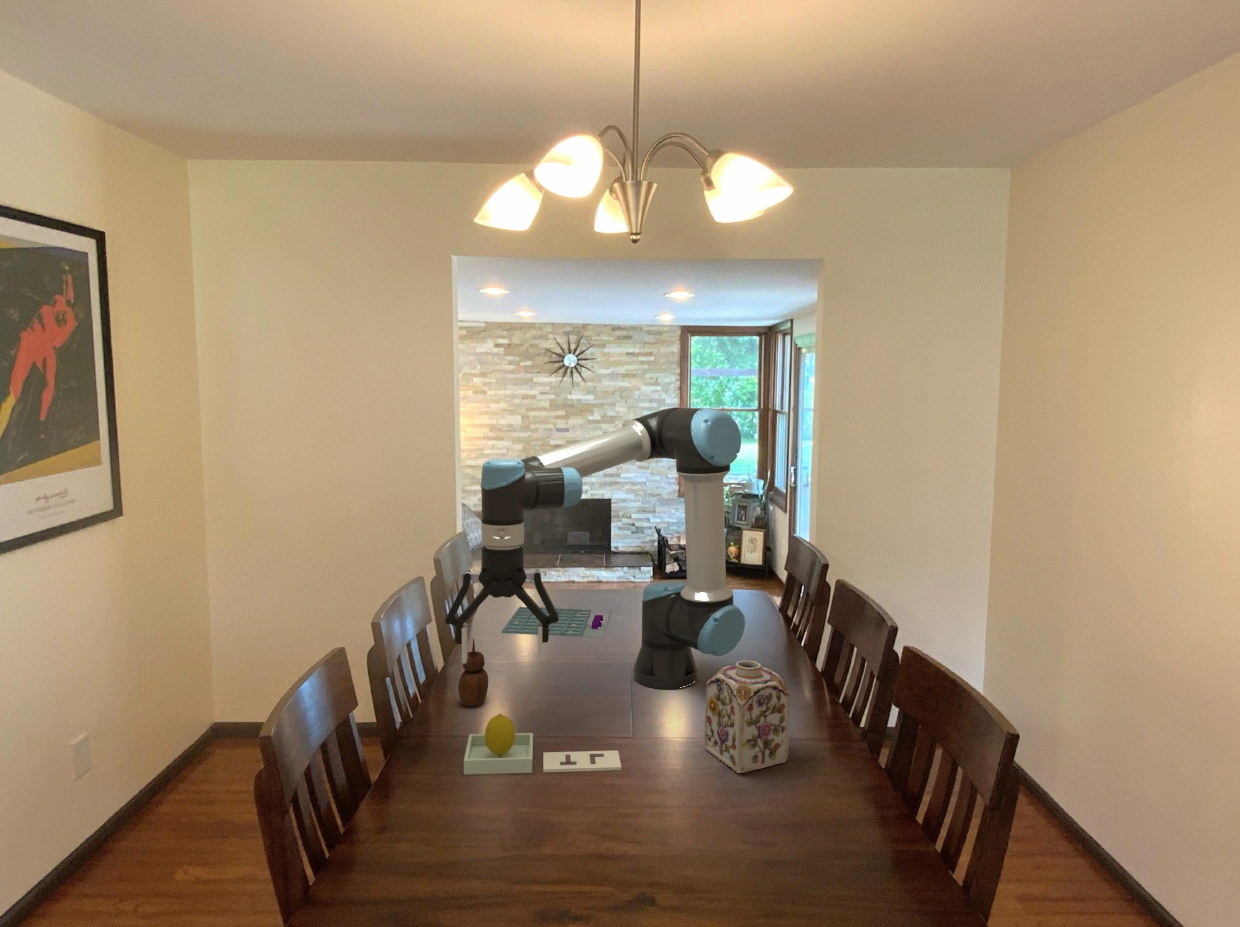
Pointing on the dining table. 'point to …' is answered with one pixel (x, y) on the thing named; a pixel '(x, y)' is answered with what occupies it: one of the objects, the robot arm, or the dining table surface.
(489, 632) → the dining table surface
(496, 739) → the lemon
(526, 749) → the dish
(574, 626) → the calendar
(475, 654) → the wooden figurine
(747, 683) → the decorative jar
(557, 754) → the tile
